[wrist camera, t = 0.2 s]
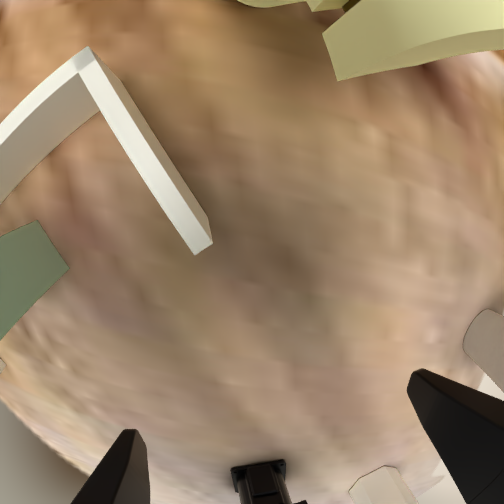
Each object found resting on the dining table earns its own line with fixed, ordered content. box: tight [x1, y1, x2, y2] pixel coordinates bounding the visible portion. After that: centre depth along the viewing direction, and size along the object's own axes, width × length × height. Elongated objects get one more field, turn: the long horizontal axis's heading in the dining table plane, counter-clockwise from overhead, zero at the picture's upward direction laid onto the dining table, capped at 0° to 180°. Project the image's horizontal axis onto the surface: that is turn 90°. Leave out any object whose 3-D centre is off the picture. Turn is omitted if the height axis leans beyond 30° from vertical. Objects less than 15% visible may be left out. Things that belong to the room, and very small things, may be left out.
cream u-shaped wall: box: [0, 46, 213, 373], centre depth 15 cm, size 12×26×7 cm, turn 121°
